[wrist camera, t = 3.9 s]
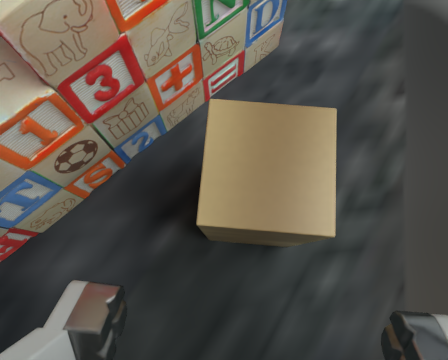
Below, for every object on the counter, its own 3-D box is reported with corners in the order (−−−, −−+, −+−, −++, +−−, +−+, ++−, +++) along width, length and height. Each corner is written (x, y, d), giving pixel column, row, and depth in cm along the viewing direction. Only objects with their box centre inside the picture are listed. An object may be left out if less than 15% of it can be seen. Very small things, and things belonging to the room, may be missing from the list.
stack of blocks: (0, 274, 19) (-406, 283, 7) (-55, 192, 20) (-477, 78, 8) (279, 51, 22) (336, -207, 10) (216, -7, 23) (201, -296, 11)
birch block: (208, 240, 19) (194, 225, 11) (215, 167, 20) (207, 97, 12) (286, 247, 19) (337, 237, 10) (289, 173, 20) (338, 107, 11)
